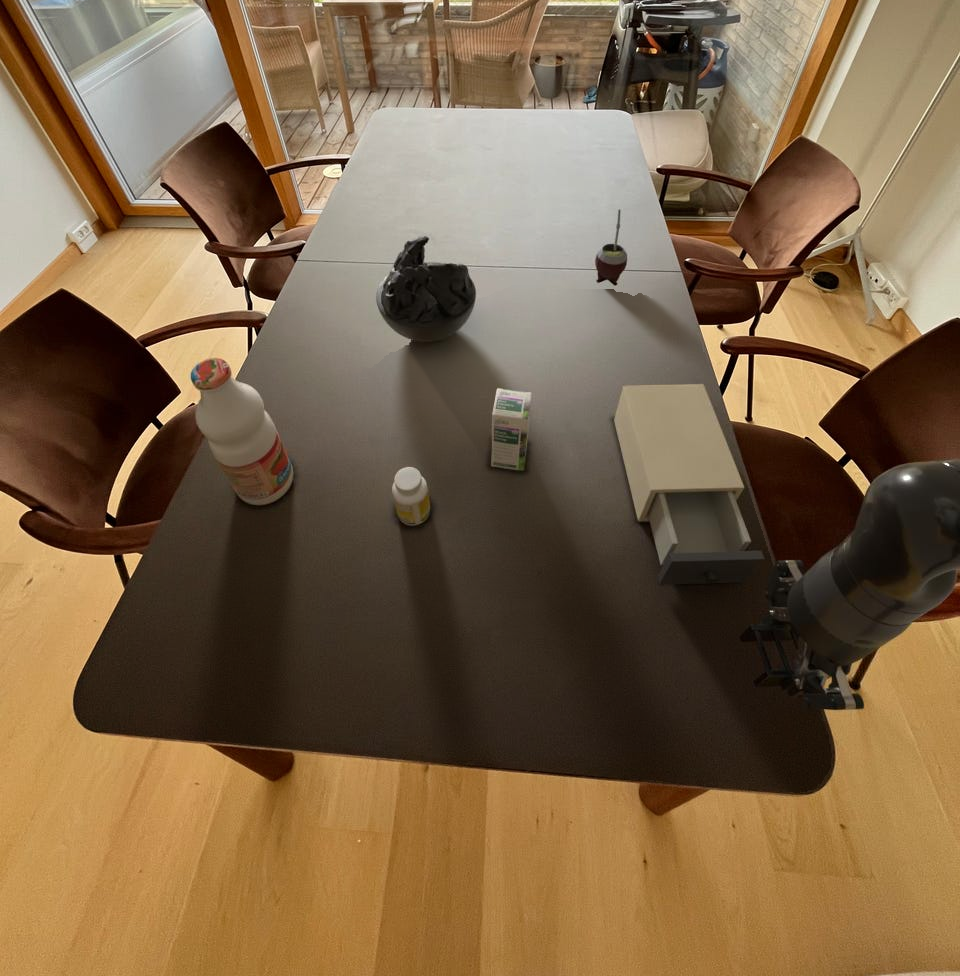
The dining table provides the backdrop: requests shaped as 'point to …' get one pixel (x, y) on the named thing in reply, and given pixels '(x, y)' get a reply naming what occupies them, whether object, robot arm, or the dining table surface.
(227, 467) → the fruit juice
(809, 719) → the dining table surface
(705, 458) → the cream drawer box
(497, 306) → the dining table surface
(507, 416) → the syrup box
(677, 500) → the two-tone hollow box
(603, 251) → the mate gourd
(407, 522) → the supplement bottle
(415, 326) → the coal bowl
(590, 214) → the dining table surface
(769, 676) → the rack
